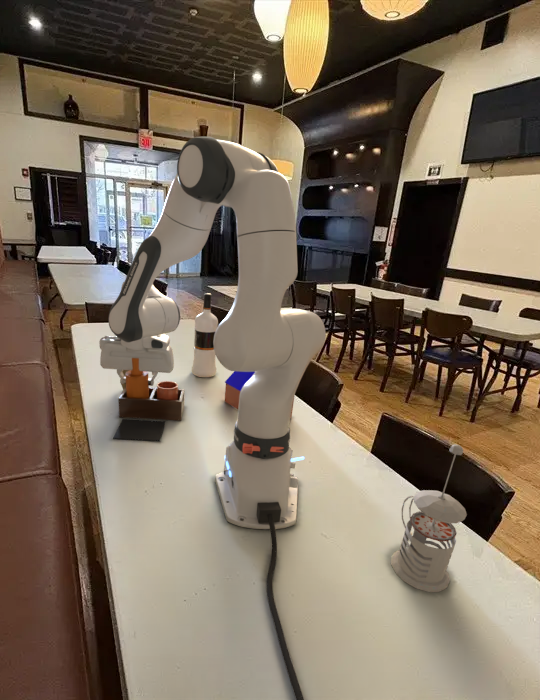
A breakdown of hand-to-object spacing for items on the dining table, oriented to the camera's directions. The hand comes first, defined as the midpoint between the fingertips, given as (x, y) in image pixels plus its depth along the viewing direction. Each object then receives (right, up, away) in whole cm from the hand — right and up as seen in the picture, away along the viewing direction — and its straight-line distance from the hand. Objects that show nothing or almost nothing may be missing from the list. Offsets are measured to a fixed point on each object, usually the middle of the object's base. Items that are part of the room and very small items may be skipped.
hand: (137, 384), depth 119 cm
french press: (+61, -32, -45) cm, 83 cm away
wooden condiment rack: (+4, -8, +3) cm, 10 cm away
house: (+35, -8, +11) cm, 37 cm away
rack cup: (+8, -9, +3) cm, 12 cm away
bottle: (0, -8, +3) cm, 9 cm away
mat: (+3, -12, -8) cm, 15 cm away
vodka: (+16, +4, +36) cm, 40 cm away
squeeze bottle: (-5, -3, +16) cm, 17 cm away
